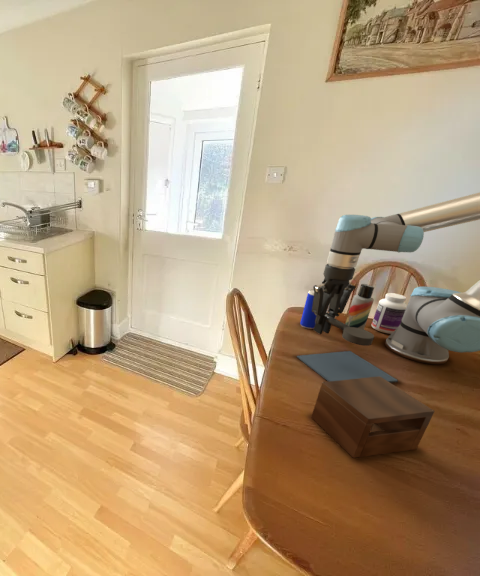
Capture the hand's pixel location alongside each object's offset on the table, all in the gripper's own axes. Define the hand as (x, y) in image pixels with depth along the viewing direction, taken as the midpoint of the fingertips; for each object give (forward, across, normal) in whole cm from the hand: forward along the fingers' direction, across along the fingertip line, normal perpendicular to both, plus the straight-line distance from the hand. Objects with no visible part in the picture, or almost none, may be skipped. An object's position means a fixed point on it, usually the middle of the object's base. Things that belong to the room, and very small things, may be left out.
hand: (321, 331), depth 106 cm
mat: (+7, 0, -11) cm, 13 cm away
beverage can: (+7, +10, +16) cm, 20 cm away
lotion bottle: (+7, +22, +8) cm, 25 cm away
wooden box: (+7, -18, -34) cm, 39 cm away
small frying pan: (-4, 0, -6) cm, 7 cm away
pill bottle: (+7, +37, +9) cm, 39 cm away
